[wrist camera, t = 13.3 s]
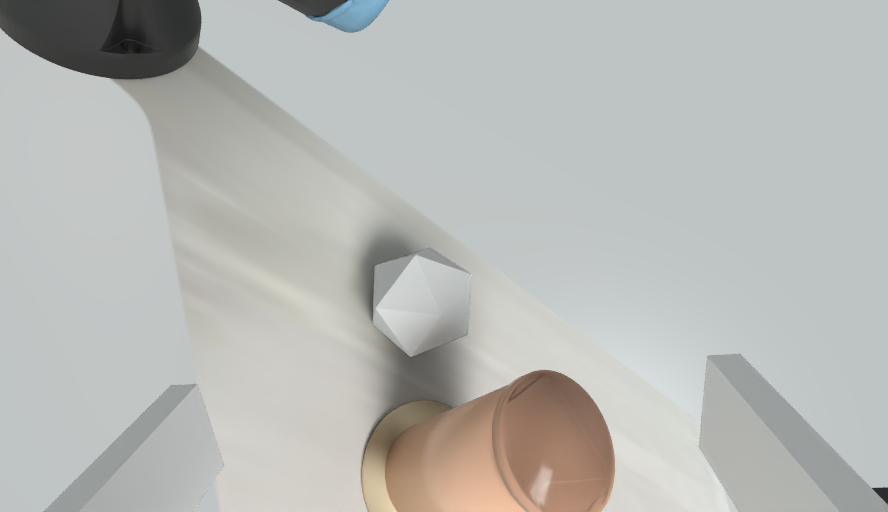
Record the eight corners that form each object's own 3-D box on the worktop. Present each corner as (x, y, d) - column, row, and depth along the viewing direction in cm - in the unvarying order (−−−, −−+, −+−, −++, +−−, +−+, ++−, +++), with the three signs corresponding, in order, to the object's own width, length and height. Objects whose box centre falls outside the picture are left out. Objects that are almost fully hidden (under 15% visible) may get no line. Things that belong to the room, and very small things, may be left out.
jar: (394, 408, 38) (506, 351, 26) (477, 435, 40) (610, 392, 29) (372, 519, 33) (494, 507, 22) (466, 541, 36) (619, 540, 24)
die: (445, 294, 47) (440, 212, 41) (488, 355, 41) (489, 270, 35) (366, 322, 44) (348, 240, 38) (399, 392, 38) (383, 308, 32)
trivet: (380, 384, 38) (382, 383, 38) (492, 421, 42) (495, 420, 42) (344, 541, 32) (346, 540, 32) (480, 569, 36) (483, 569, 35)
